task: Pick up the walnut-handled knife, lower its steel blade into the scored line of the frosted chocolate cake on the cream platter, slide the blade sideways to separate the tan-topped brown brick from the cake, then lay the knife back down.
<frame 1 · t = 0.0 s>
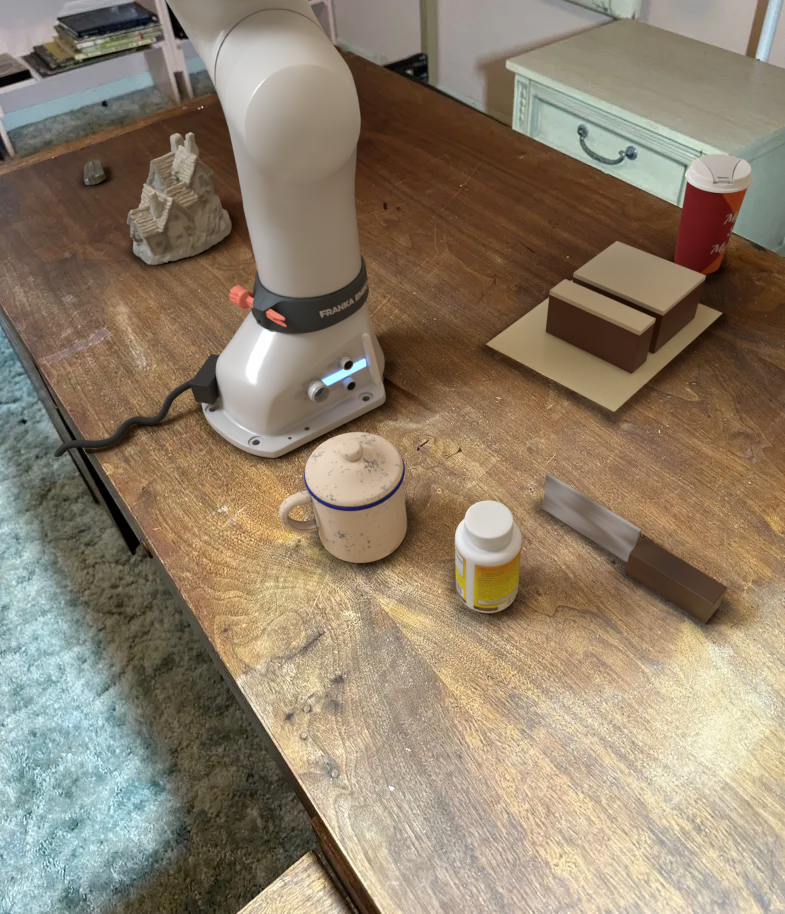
paper cup: (695, 269, 101), on the table
teacup with lid: (349, 534, 75), on the table
supplement bottle: (486, 590, 69), on the table
cake: (630, 316, 93), resting on platter
ceramic cottage: (179, 232, 117), on the table
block: (95, 178, 131), on the table
tan-topped brown brick: (594, 346, 90), point 1 cm above the table, touching platter
knife: (670, 588, 68), on the table
platter: (603, 335, 93), on the table
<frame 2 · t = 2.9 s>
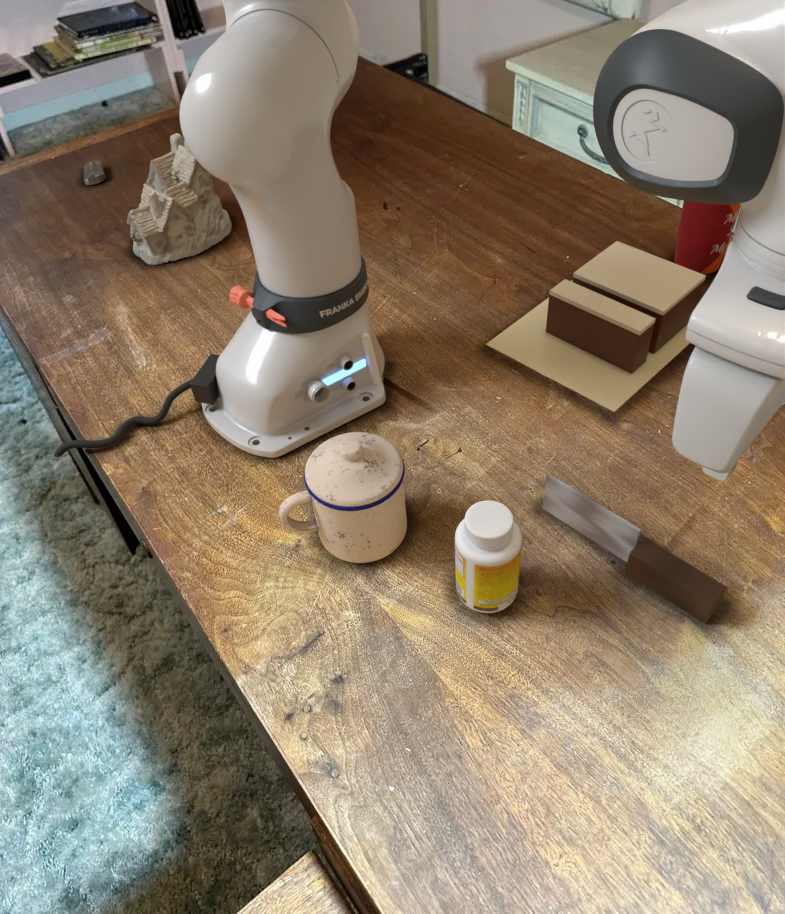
hand: (748, 433, 55), 18 cm above the table, tool pointing down, fingers open, 8 cm apart
nothing on the table moved.
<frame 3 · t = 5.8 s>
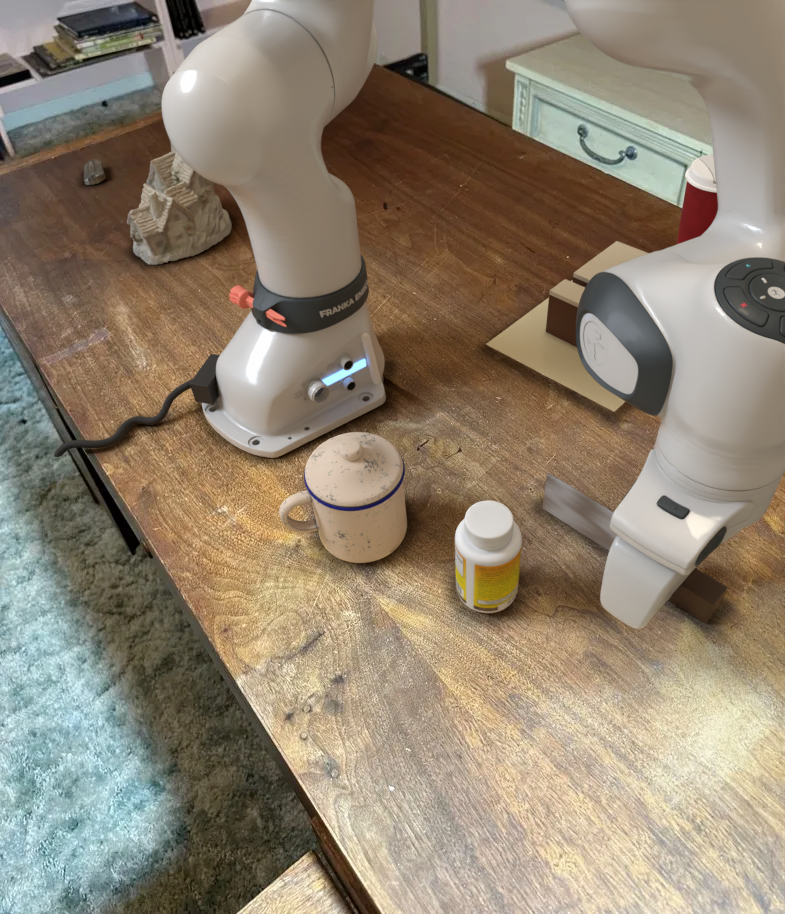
hand: (674, 577, 67), 2 cm above the table, tool pointing down, fingers closed on knife, 2 cm apart
knife: (670, 588, 68), on the table, touching gripper
everything else where it was.
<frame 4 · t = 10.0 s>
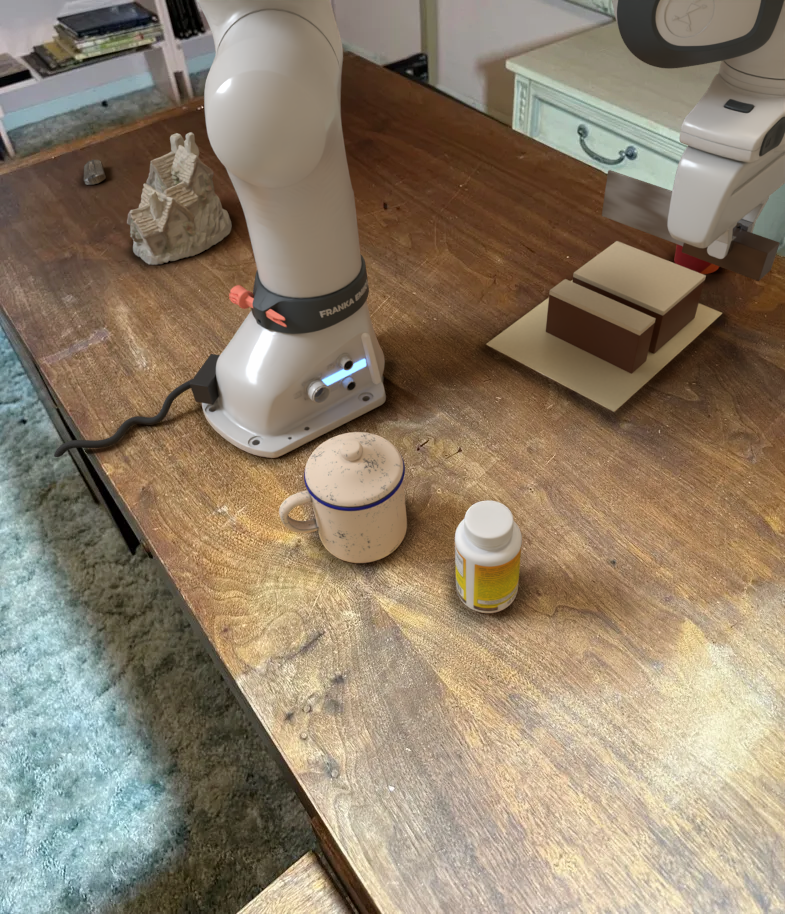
hand: (728, 245, 73), 18 cm above the table, tool pointing down, fingers closed on knife, 2 cm apart
knife: (725, 261, 74), point 16 cm above the table, touching gripper
everything else where it was.
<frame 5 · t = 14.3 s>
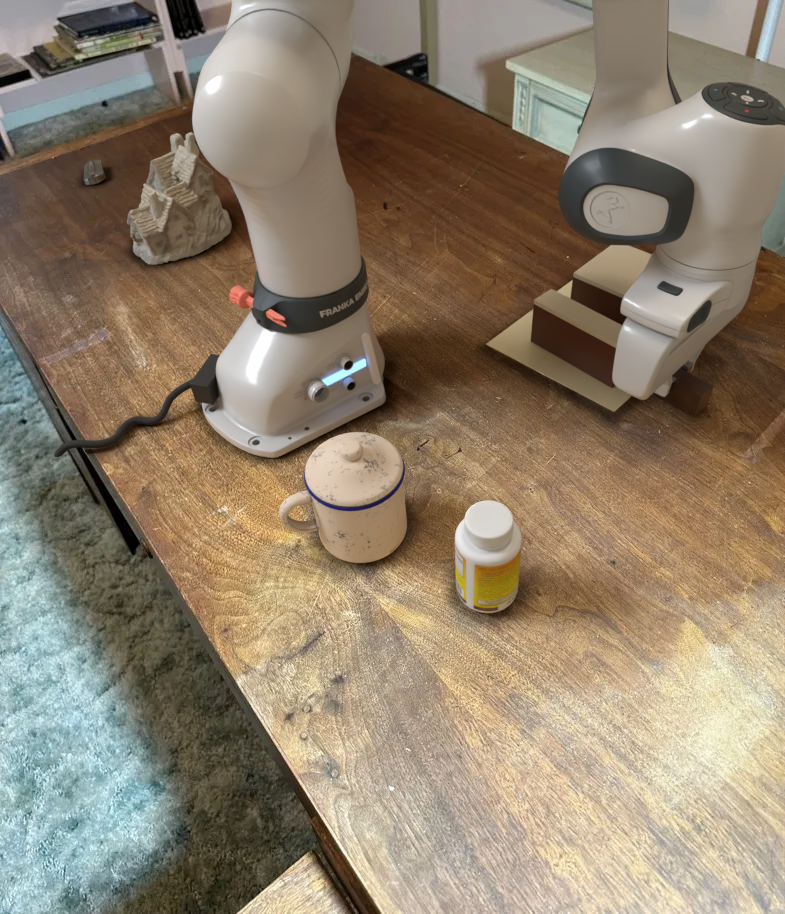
hand: (671, 382, 82), 3 cm above the table, tool pointing down, fingers closed on knife, 2 cm apart
tan-topped brown brick: (578, 358, 89), point 1 cm above the table, touching knife, platter
knife: (668, 393, 83), point 1 cm above the table, touching gripper, tan-topped brown brick
everything else where it was.
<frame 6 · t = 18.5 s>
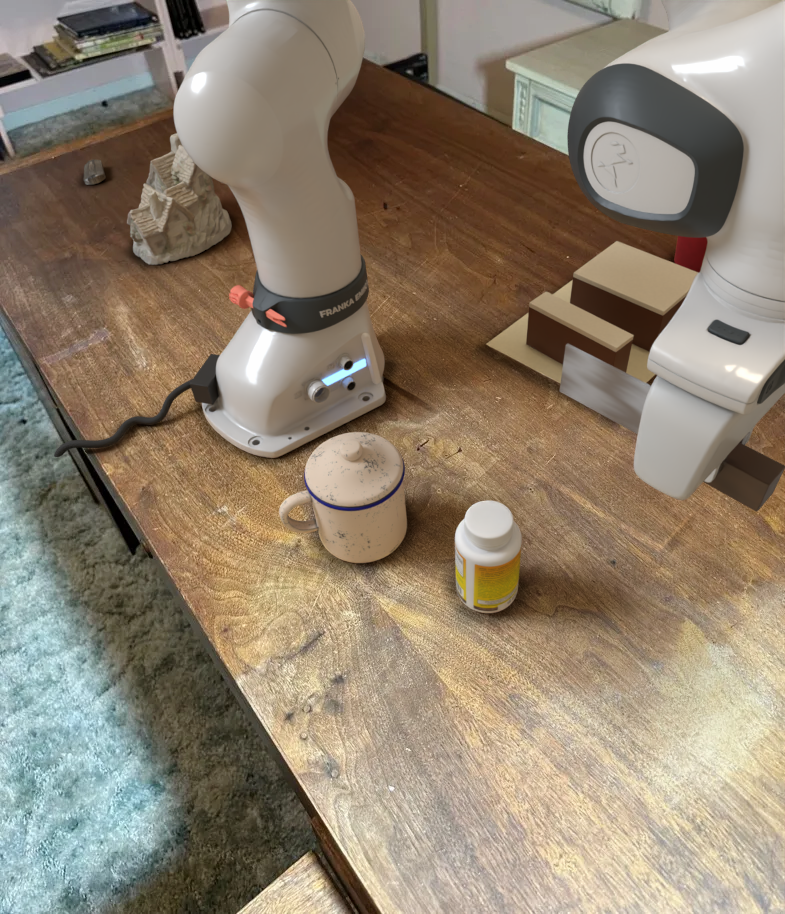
hand: (717, 458, 56), 17 cm above the table, tool pointing down, fingers closed on knife, 2 cm apart
tan-topped brown brick: (574, 360, 88), point 1 cm above the table, touching platter
knife: (713, 474, 57), point 15 cm above the table, touching gripper
everything else where it was.
when the fingers open (2 cm above the table, at t = 22.0 s): knife stays where it is, on the table.
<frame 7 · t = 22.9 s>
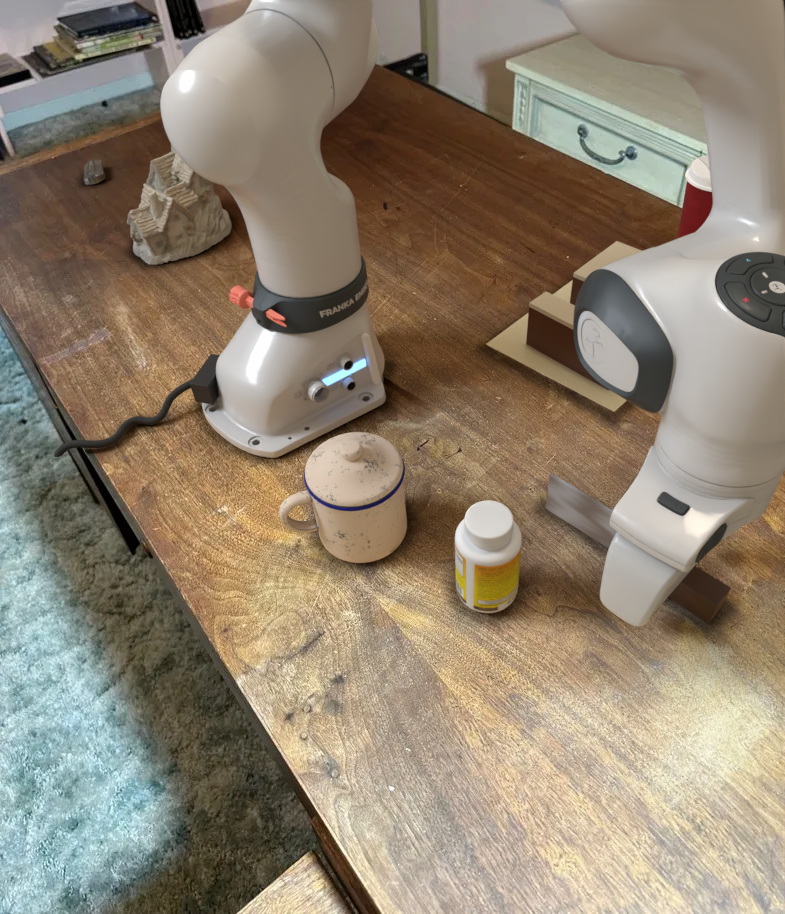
hand: (674, 575, 66), 2 cm above the table, tool pointing down, fingers open, 8 cm apart
knife: (673, 588, 68), on the table
everything else where it was.
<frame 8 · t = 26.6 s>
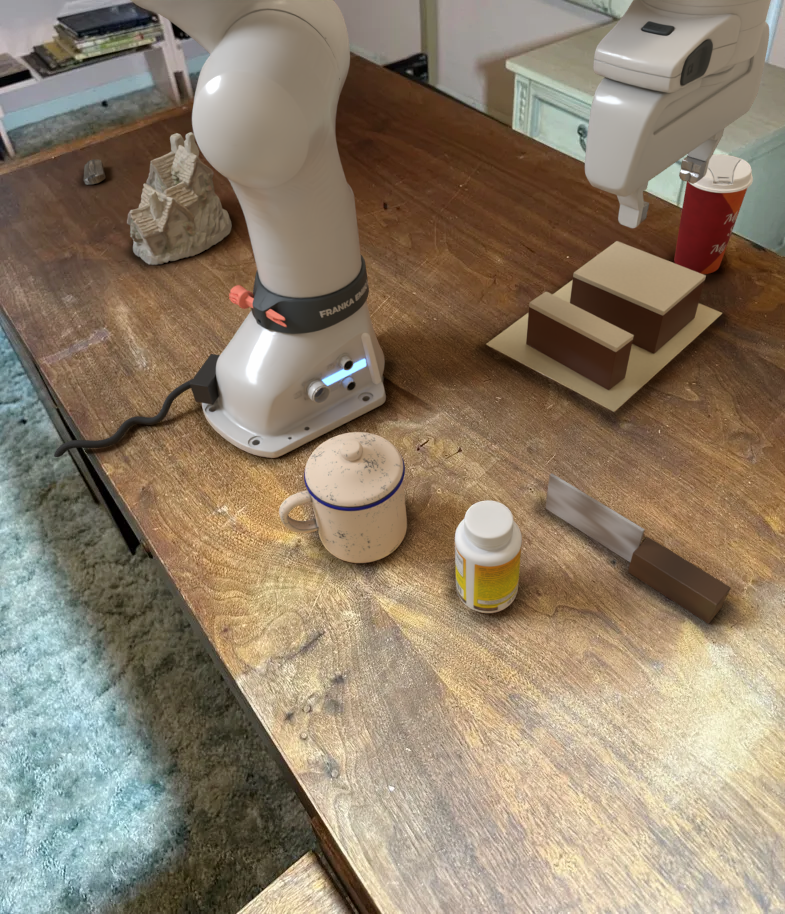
hand: (662, 200, 65), 25 cm above the table, tool pointing down, fingers open, 8 cm apart
nothing on the table moved.
at the end: tan-topped brown brick 0.5 cm from the target spot on the table beside the cake, resting on platter; tan-topped brown brick tilted 0°; the gripper is holding nothing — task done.
